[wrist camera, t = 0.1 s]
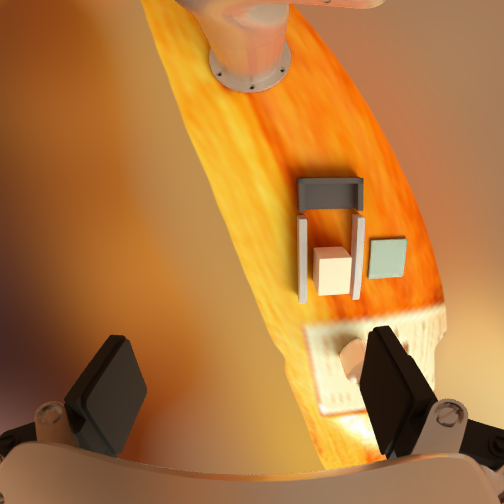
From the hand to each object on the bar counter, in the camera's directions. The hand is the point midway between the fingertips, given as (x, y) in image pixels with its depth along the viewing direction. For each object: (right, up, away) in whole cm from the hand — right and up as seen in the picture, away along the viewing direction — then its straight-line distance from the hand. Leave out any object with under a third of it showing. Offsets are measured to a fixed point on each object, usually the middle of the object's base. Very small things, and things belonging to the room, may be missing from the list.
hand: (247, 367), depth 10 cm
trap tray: (+12, +14, +34) cm, 38 cm away
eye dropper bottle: (+20, -15, +43) cm, 50 cm away
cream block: (+13, +2, +37) cm, 40 cm away
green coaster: (+24, +3, +37) cm, 44 cm away
